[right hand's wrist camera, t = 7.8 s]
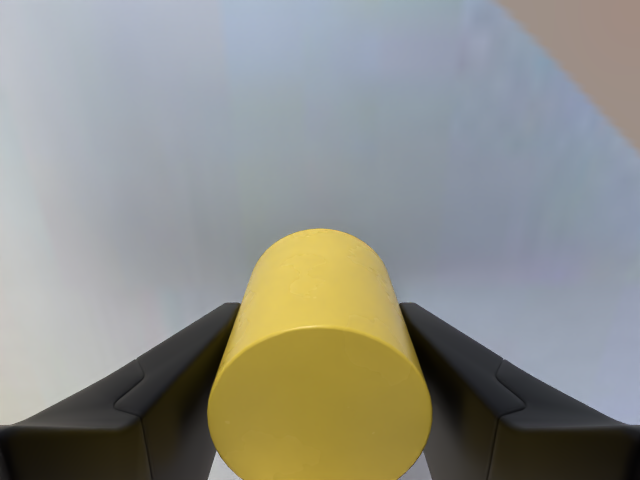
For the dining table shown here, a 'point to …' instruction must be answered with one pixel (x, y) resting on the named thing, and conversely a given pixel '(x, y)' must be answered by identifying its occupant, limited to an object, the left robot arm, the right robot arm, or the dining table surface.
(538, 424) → the right robot arm
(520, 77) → the dining table surface
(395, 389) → the cylinder
